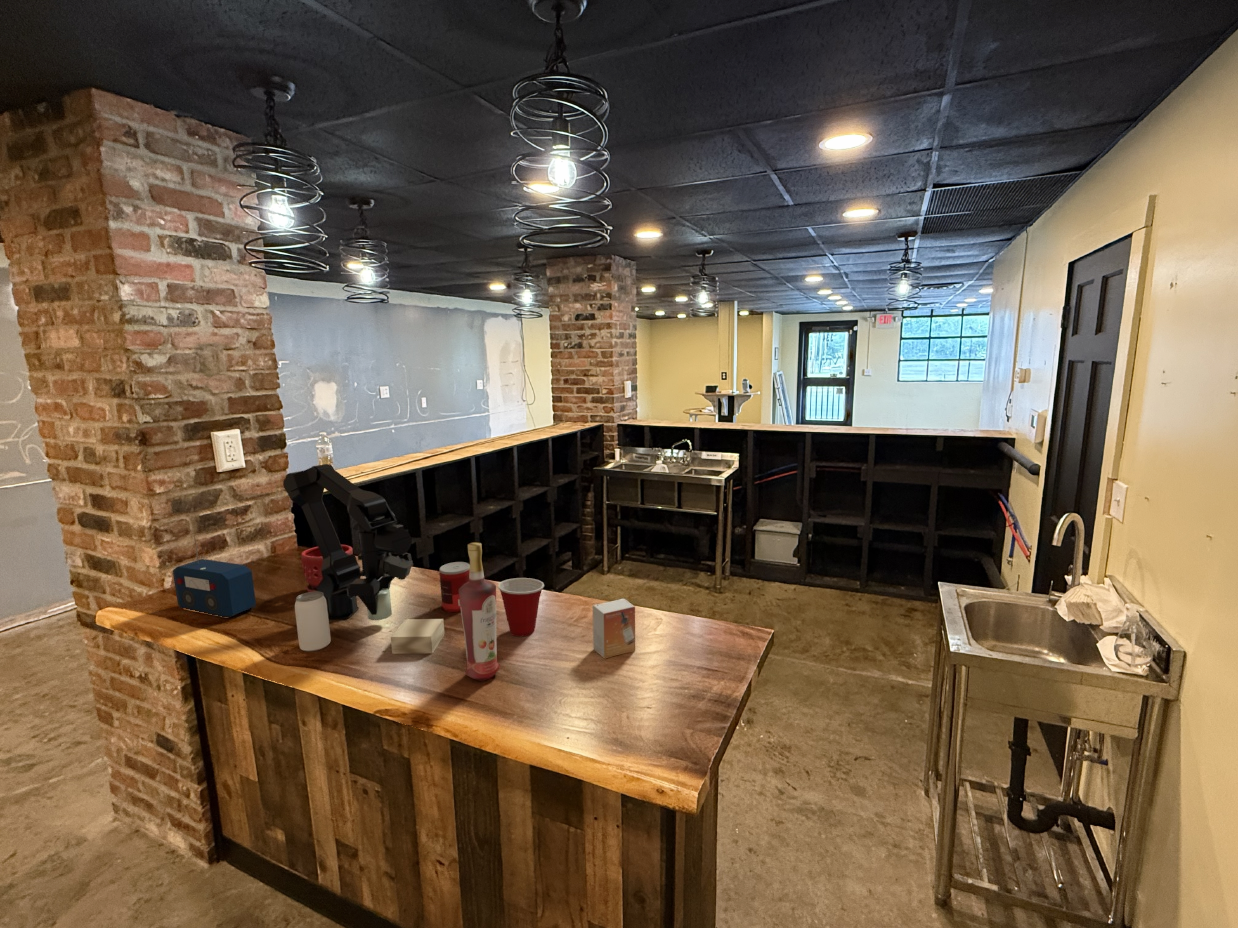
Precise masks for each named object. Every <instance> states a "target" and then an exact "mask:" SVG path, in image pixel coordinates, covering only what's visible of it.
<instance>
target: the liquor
mask: <svg viewBox="0 0 1238 928" xmlns="http://www.w3.org/2000/svg"><path fill="white" fill-rule="evenodd" d="M482 545H483V544H482V543H481V542H470V543H468V544H467V553H468V557H469V565H470V575H469V582H467V583H465V584H464V585H463V586H461V587H460V588H459V598H460V607H461V611H460V614H461V615H460V616H461V621H462V628H463V636H464V645H465V654H466V655H465V657H466V664H467V666H466V668H465V675H466V676H468V677H469V678H471V679H473V680H475V681H486V680H489V679H491V678H493V677H494V675H496V674H497V672H498V671H499V670H500V668H501V667H500V664H499V663H498V657H497V656H498V655H497V654H498V652H497V650H498V649H497V648H498V647H497V585H496V584H495V583H493V582H492V581H490V580H488V579H485V575H484V568H483V562H482V555H483V549H482Z"/></svg>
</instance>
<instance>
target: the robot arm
mask: <svg viewBox="0 0 1238 928" xmlns="http://www.w3.org/2000/svg"><path fill="white" fill-rule="evenodd" d="M282 485H283V488H284V490H285V492H286V493H287V495H288V497H289V498H290V500H291V501H292V502H294V503H295V504H296V505H298V506H299V507H301V509H302V510H303V511H302V512H303V514H304V516H305V519H306V521H307V523H308V526H309V528H310V531H311V533H312V535H313V537H314V540H315V542H316V545H317V547H319V550H320V552H321V555H322V556H321V557H323V563H322V568H321V574H322V577H323V579H322V580H321V582H320V583H319V585H318V586H317V587H316V589H317V592H322V593H323V594H324V595H323V596H324V597H325V599H326V602H327V610H328V619H329V620H345V619H346V620H347V619H350V618H351V617H352V615H354V614H355V613H356V612H357V611H358V610H359V609H360V607H359V606H358V602H357V601H358V600H357V597H358V598H359V599H360V600H361V602H362V603H363V605H364V606H365V607H366V609H367V608H368V610H369V611H370V613H371V614H372V615H376V614H377V605H378V594H379V593H380V591H381V590H382V589H383V588H387V589H389V590H390V588H391V585H392V581H394V580H395V578H396V579H398V580H401V581H402V580H405V579H406V578H407V577H409V575H410V572H411V570H412V567H413V566H414V563H413V562H414V561H413V560H412V555H411V553H408V551H409V550H410V549H411V545H412V543H413V542H412V536H411V534H410V533H409V531H407V530H405V528H404V525H403V524H398V520H397V518H396V515H395V514H394V512H393V511H392V510H391V508H390V506H389V504H388V502H387V501H386V499H385V498H384V496H382V495H380V494H378V493H376V492H374V491H370V490H364V489H361V488H360V487H358V486H357V485H356V484H354V483H353V482H352V481H350V480H349V479H348V478H347V477H345V476H343V474H341V473H340V472H338V471H337V470H336V469H335V468H334V466H333V465H332V464H330V463H329V464H328V463H323V464H318V465H312V466H311V467H309V468H307V469H305V470H300V471H294V472H289V473H287V474H286V475H285V478H284V479H283V481H282ZM324 490H326V491H327V492H328V493H330V494H331V495H333V496H334V497H335V498H336V499H338V500H339V501H340V502H341V503H343V504H344V505H345V506H346V510H347V514H348V515H349V516H350V517H351V518H352V519H353V520H354V521H355V522H356V523H355V524H354V525H353V526H352V529H353V530H354V531H358V535H359V538H358V539H359V547H360V553H359V555H357V556H356V555H355V554H354V553H353V554H350V555H349V554H347V553H346V552H344V551H343V549H342V546H341V545H342V544H341V541H340V540H339V537H338V534H337V533H336V530H335V527H334V525H333V523H332V521H331V518H330V516H329V513H328V510H327V508H326V507H325V504H324V502H323V496H324V492H325V491H324ZM392 554H394V555H392ZM395 555H397V556H395ZM400 555H401V556H400ZM358 561H361V565H362V566H360V565H359V563H358ZM361 567H362V570H361ZM361 577H365V578H361Z"/></svg>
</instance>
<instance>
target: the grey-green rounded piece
mask: <svg viewBox="0 0 1238 928" xmlns="http://www.w3.org/2000/svg"><path fill="white" fill-rule="evenodd" d="M392 611H393V610H392V601H391V590H390V589H387V588H383V589H382V590H381V591H380V593H379V594H378V605H377V614H376V615H372V614H371V613H370V611H369V610H368V608H367V607H366V612H367V619H368V620H370V621H381V620H385V619H388V618H390V617H391V616H392V614H393V612H392Z"/></svg>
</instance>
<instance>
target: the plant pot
mask: <svg viewBox="0 0 1238 928" xmlns="http://www.w3.org/2000/svg"><path fill="white" fill-rule="evenodd" d="M341 546H342V549H343V551H344V552H346V553H347V554H349V555H350V554H354V551H353V547H352V546H350V545H346V544H341ZM300 558H301V567H302V571H303V575H304V577H305V580H306V582H307V583H308V584H307V585H306V588H305V589H306V591H307V593H308V592H317V589H316V587H317V586H318V585H319V583H320V582H321V580H322V579H323V577H322V574H321V568H322V563H323V557H322V555H321V552H320V550H319V547H318V546H315V547H311V548H308V549H305V550H303V551H302V552H301V557H300Z"/></svg>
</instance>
